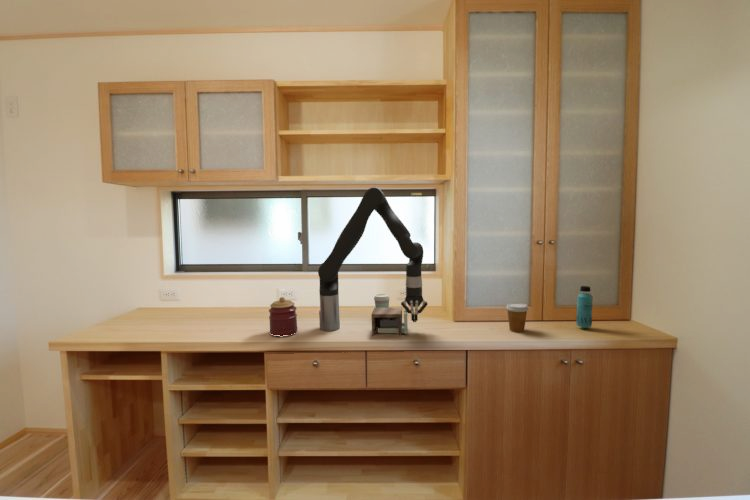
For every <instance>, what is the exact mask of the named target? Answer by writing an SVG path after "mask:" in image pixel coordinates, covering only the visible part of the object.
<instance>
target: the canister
mask: <svg viewBox="0 0 750 500" xmlns="http://www.w3.org/2000/svg"><path fill="white" fill-rule="evenodd" d="M278 299H279V300H276V301H273V302H272V303H271V304H270V305H269V307H270V308H269V309H268V312H269V318H268V319H269V334H270V333H271V334H273V335H280V336H283V335H291V334H294V333H296V332H297V333H298V320H297V316H298V314H297V312H296V311H297V307H296V306H295V302H293V301H292V300H290V299H286V298H285V297H283V296H281V297H280V298H278ZM297 333H296V334H297ZM271 334H270V335H271ZM294 335H295V334H294ZM291 336H292V335H291Z"/></svg>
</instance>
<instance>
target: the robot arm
mask: <svg viewBox="0 0 750 500" xmlns="http://www.w3.org/2000/svg"><path fill="white" fill-rule="evenodd" d="M358 204H359V205H358V206H357V208H356V210H355V211H354V213H353V215H352V216H351V218H350V219H349V220H348V222H347V223H346V225H345V226H344V228H343V229H342V231H341V232H340V235H339V236H338V238H337V240H336V242H335V243H334V244H335V245H334V247H333V249H332V251H331V252H330V254H329V255H328V257H327V258H326V259H325V260H324V262H323V263H321V264H320V266H319V267H318V270H317V275H318V277H319V309H320V310H319V312H318V316H319V330H320V329H321V330H320V331H324V330H327V331H326V332H330V331H332V330H333V331H337V330H339V329H340V328H341V326H340V325H341V323H340V322H341V321H340V301H339V271H340V269H341V267H342V265H343V264H344V262H345V260H346V258H348V256H349V255H350V254H351V252H352V251H353V250H354V248H356V245H358V243H359V242H360V240H361V239H362V237H363V235H364V233H365V230H366V226H367V223H368V220H369V219H370V216H371V215H372V213H373V212H374V211H375V212H376V213H377V214H378V215H379V216H380V217H381V219H382V220H383V222H384V223H385V224H386V227H387V229H388V230H389V231H390V233H391V234H392V236H393V238H394V239H395V240H396V241H397V243H398V246H399V248H400V251H401V252H402V254H403V255H404V256H405V257H406V258H407V259H409V260H408V263H407V264H406V267H405V273H406V275H405V276H406V277H405V298H404V300H403V301H401V302H400V305H401V307H402V308H403V309H405V310H406V311H407V314H410V315H411V321H412V322H413V323H417V321H418V320H419V318H418V315H419V314H421V313H422V312H423V311H424V310H425V309H426V307H427V306H428V302H427V301H425V300H424V298H423V279H422V264H423V258H424V248H423V245H422V244H421V243H419V242H413V241H412V239H411V232H410V231H409V230H408V228H407V227H406V226H405V225H404V223H403V222H402V221H401V219H400V218H399V217H398V216H397V214H396V213H395V212H394V210H393V209H392V207H391V206H390V204H389V202H388V200H387V198H386V196H385V193H384V192H383V191H382V190H381V189H380V188H379V187H376V186H373V187H370V188H368V189H367V190H366V191H365V192H364V194H363V196H362V198H361V200H360V203H358ZM407 305H408V306H409V307H410V308H409V307H408V306H407ZM421 305H422V306H421ZM420 306H421V307H420ZM419 307H420V308H419ZM333 331H332V332H333Z"/></svg>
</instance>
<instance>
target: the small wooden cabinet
mask: <svg viewBox="0 0 750 500" xmlns="http://www.w3.org/2000/svg"><path fill="white" fill-rule="evenodd" d="M381 317H398V324H399V333H398V336H400V337H401V336H402V333H401V317H402V318H403V307H389V308H376V307H374V308H373V310H372V313H371V335H372V336H375V335H376V333H377V331H378V328H379V326H380V319H381Z"/></svg>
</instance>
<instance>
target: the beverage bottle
mask: <svg viewBox="0 0 750 500" xmlns="http://www.w3.org/2000/svg"><path fill="white" fill-rule="evenodd" d="M579 291H580V293H578V294H577V295H576V296H577V304H576V317H575V318H576V319H575V320H576V322H575V323H576V326H577V327H580V328H592V325H593V298H594V297H593V295H592V294H591V293H590V292H591V286H589V285H588V286H587V285H581V286H580V289H579ZM587 292H588V293H587Z"/></svg>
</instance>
